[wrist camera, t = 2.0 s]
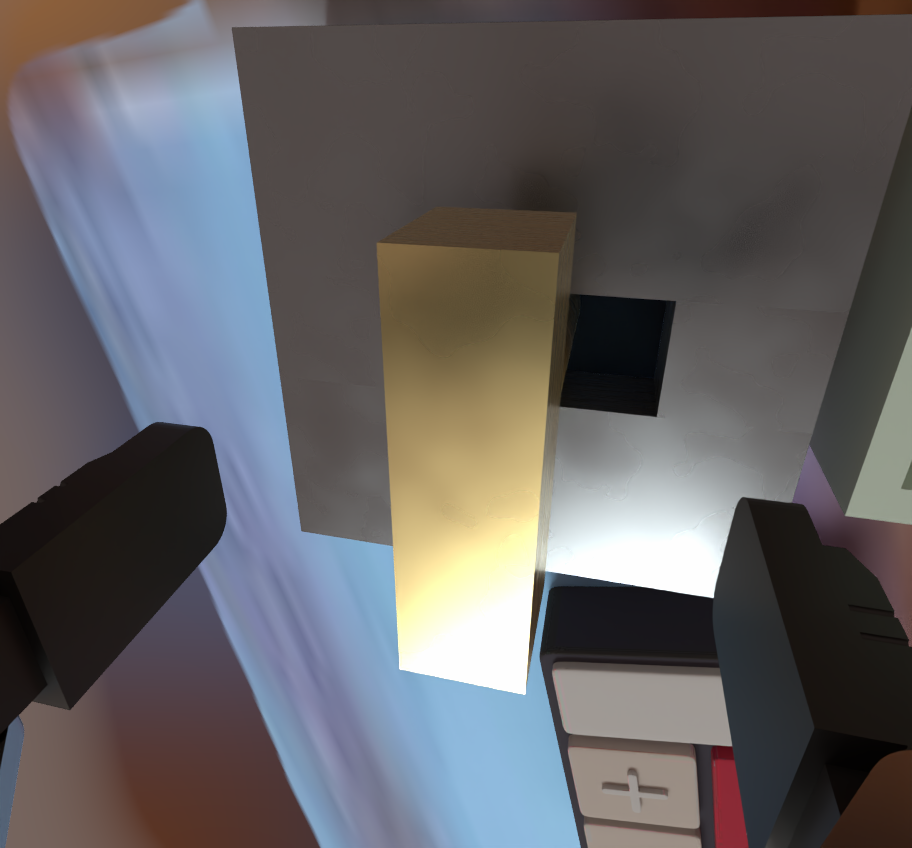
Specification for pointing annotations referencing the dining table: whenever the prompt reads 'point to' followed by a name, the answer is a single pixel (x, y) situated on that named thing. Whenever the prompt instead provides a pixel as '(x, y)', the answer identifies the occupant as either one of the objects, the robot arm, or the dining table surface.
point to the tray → (875, 370)
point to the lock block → (585, 244)
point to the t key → (474, 430)
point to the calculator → (641, 718)
